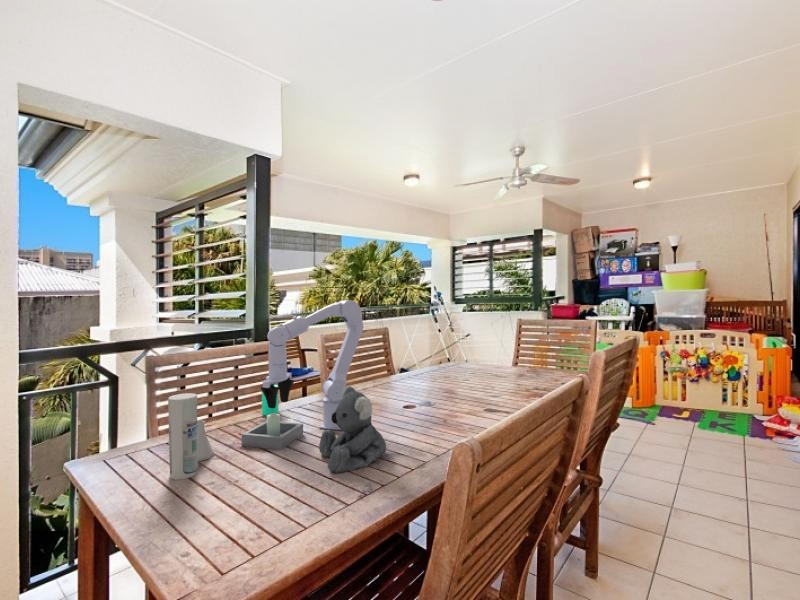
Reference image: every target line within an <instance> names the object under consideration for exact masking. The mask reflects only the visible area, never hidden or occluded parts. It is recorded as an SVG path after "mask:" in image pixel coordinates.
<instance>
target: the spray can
mask: <svg viewBox="0 0 800 600" xmlns="http://www.w3.org/2000/svg"><path fill="white" fill-rule="evenodd" d="M167 405H168V406H167V407H168V411H167V412H168V443H169V444H168V445H169V446H168V448H169V449H168V451H169V455H168V459H169V478H170V479H171V480H176V481H177V480H178V481H180V480H185V479H188V478H192V477H194V476H195V475H196V474H197V473H198V470H199V469H198V468H199V465H198V460H197V421H198V395H197V393H191V392H188V393H187V392H186V393H178V394H174V395H171V396H169V397H168V398H167Z"/></svg>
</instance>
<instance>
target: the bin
mask: <svg viewBox="0 0 800 600" xmlns="http://www.w3.org/2000/svg"><path fill="white" fill-rule="evenodd" d="M301 435H302V436H303V435H304V423H301V422H299V423H298V422H289V421H288V422H287V421H280V436H272V435H267V420H266V421H263V422H261V423H259V424H258V425H256V426H254V427H252V428H250V429H249V430H246V431H245V432H243V433H241V446H242V447H251V448H259V447H260V448H261V449H269V448H270V450H278V449H280V451H281V450H283V449H284V448H286V447H287V446H289V445H290V444H292V443H293V442H294V441H296V440H297V439H299V438H300V437H301ZM298 437H299V438H298ZM295 439H296V440H295ZM291 442H292V443H291ZM260 448H259V449H260Z"/></svg>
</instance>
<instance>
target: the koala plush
mask: <svg viewBox="0 0 800 600" xmlns="http://www.w3.org/2000/svg"><path fill="white" fill-rule="evenodd" d="M342 397H343V398H342V400H341V402H340V403H339V405H338V406H337V409H336V411H335V412H334V413H333V414H332V417H331V419H332V422H333V423H334V424H337V425H338V427H339V428H340V429H341V430H340V431H342V432H341V433H339V434H338V436H337V435H336V433H335V431H334V430H333V429H326V430H325V429H324V430H323V431H322V434H321V436H320V441H319V444H318V449H319V452H320V453H321V455H323V457H325V458H326V457H327V458H329V459H328V460H327V469H328V470H329V472H331V473H333V472H334V473H344V471H345V472H348V471H349V470H351V471H352V470H355V469H359V468H367V467H368V466H369V465H370V464H371V462H372V463H374V462H375V461H377V460H378V459H379V458H380V457H382V456H383V455H385V453H386V452H387V442H386V440H385V439H384V436H383V435H382V434H381V433H380V432H379V431H378V430H377V429H376V427H375V426H374V425H373V423H372V415H373V406H372V405H373V404H372V402H371V399H370V398H368V396H366V395H365V394H364V393H362V392H360V391H357V390H356V389H355V388H354V387H353V386H351V385H347V386H345V388H344V389H343V392H342ZM366 466H367V467H366Z"/></svg>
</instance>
